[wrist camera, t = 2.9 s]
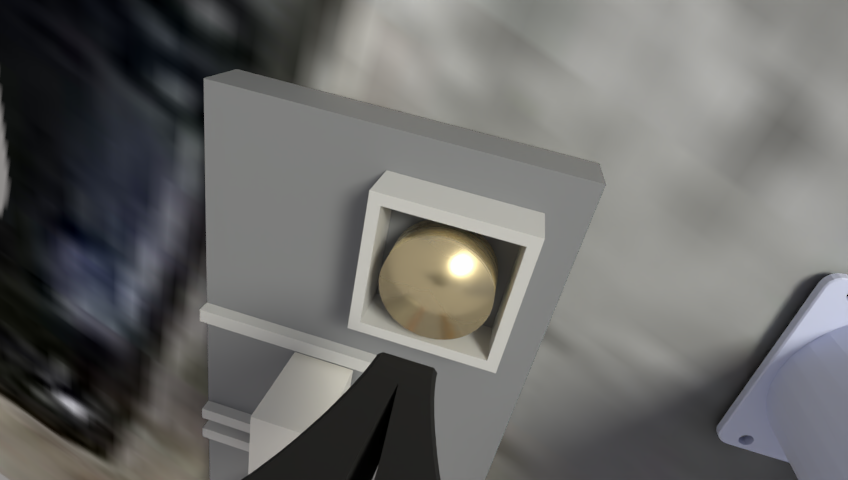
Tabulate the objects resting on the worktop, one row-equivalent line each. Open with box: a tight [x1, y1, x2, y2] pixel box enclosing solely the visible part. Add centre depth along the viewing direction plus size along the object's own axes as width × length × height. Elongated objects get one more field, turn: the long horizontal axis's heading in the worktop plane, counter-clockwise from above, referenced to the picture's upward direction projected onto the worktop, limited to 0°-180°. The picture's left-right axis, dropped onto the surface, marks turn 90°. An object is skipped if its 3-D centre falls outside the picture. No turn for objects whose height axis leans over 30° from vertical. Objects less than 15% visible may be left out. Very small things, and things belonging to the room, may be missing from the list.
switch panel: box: [200, 69, 606, 480], centre depth 21 cm, size 13×22×4 cm, turn 168°
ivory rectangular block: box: [248, 352, 353, 475], centre depth 20 cm, size 2×4×4 cm, turn 168°
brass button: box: [379, 220, 498, 340], centre depth 16 cm, size 4×4×2 cm
